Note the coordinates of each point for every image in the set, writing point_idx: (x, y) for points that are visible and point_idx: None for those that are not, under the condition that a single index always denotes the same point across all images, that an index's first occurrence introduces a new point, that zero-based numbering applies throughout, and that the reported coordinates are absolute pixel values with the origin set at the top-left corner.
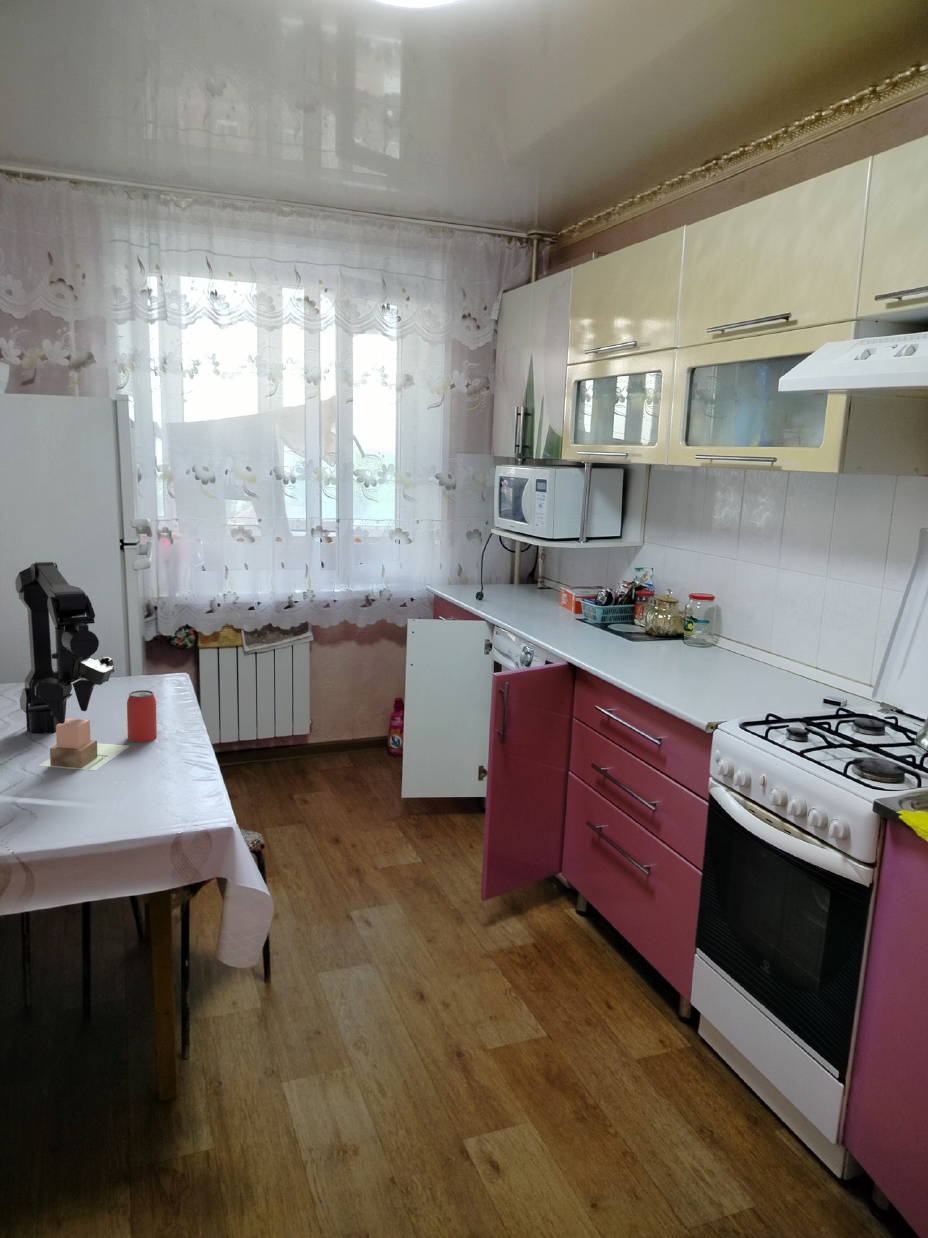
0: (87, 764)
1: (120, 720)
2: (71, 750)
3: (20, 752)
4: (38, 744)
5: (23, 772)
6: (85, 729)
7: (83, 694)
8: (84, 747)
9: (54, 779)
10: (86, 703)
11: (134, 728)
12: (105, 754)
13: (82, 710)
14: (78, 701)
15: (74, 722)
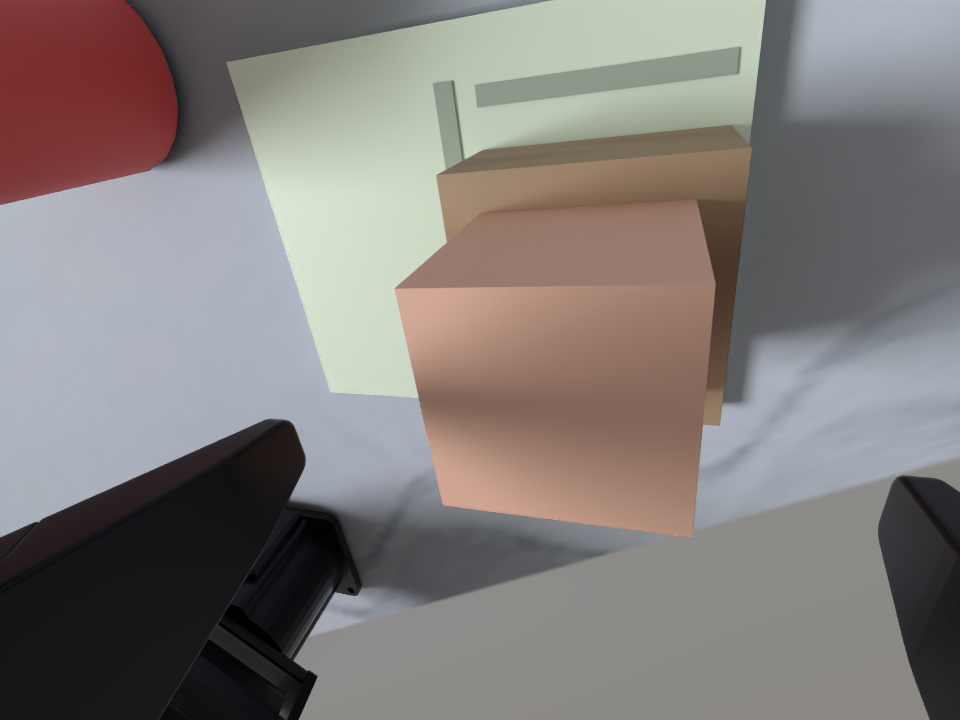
0: (640, 128)
1: (45, 350)
2: (737, 247)
3: (512, 547)
4: (407, 519)
5: (779, 451)
6: (523, 256)
7: (99, 633)
8: (642, 172)
9: (915, 226)
10: (210, 478)
11: (74, 82)
12: (421, 125)
13: (299, 455)
14: (237, 581)
15: (534, 408)
